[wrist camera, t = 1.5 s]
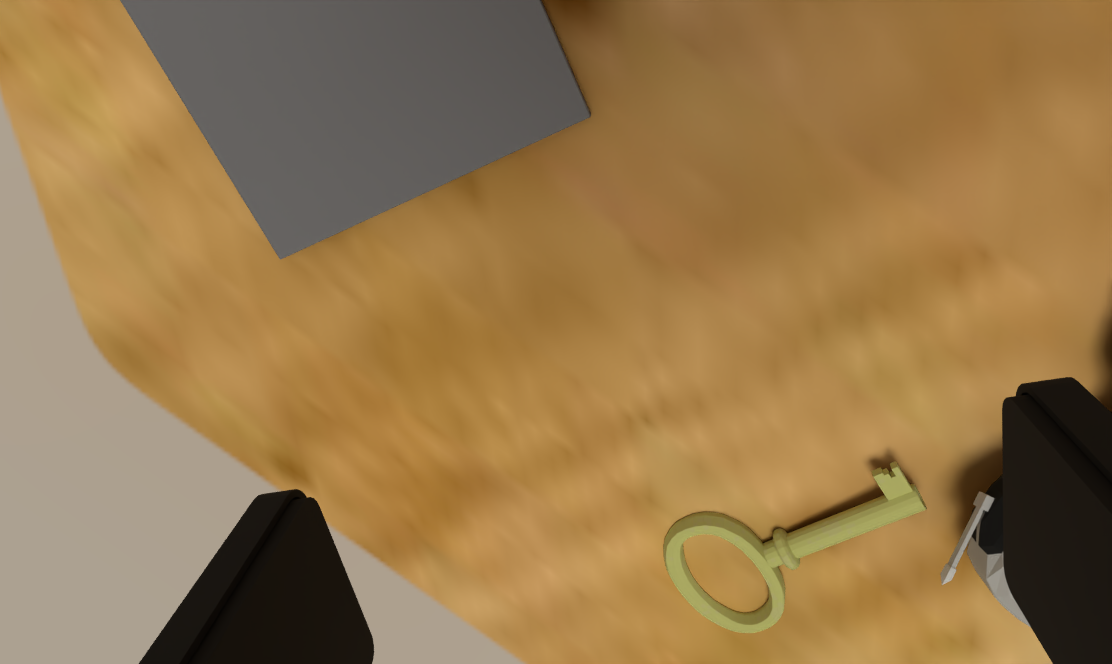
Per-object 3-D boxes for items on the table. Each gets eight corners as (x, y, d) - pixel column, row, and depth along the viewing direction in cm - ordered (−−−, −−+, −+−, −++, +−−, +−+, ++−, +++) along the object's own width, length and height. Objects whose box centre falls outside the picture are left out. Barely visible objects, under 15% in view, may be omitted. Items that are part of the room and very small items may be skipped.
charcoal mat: (413, -292, 26) (409, -298, 26) (590, 114, 31) (590, 116, 30) (77, -85, 29) (68, -85, 29) (285, 254, 34) (279, 259, 34)
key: (927, 474, 37) (944, 503, 35) (741, 631, 41) (747, 664, 39) (809, 385, 35) (820, 409, 33) (630, 557, 40) (630, 588, 38)
